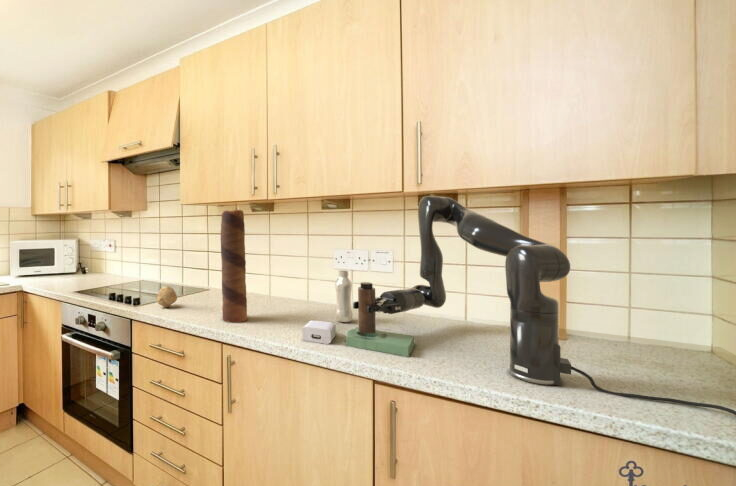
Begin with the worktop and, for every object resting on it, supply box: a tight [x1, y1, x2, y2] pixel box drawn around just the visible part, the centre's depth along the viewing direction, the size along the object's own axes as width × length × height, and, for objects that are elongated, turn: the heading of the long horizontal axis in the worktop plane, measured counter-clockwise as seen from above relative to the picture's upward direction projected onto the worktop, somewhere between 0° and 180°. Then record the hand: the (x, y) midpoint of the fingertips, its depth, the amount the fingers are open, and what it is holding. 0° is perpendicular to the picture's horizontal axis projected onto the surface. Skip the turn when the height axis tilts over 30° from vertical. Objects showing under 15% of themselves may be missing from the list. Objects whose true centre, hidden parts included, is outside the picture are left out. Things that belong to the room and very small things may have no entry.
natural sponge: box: [156, 285, 178, 308], centre depth 171 cm, size 9×9×10 cm
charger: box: [301, 320, 337, 345], centre depth 125 cm, size 5×9×15 cm
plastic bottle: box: [334, 270, 354, 323], centre depth 143 cm, size 6×7×20 cm
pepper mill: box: [357, 281, 377, 333], centre depth 118 cm, size 5×5×16 cm
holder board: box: [345, 326, 416, 358], centre depth 116 cm, size 19×12×3 cm, turn 55°
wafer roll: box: [220, 209, 248, 323], centre depth 147 cm, size 10×11×45 cm
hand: (361, 307), depth 116 cm, fingers closed on pepper mill, 5 cm apart
